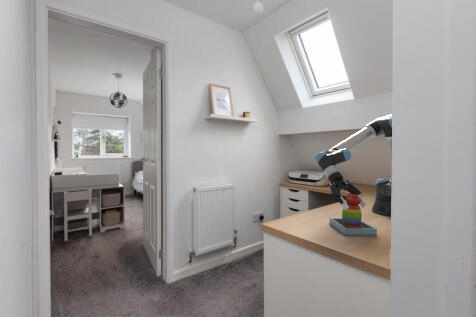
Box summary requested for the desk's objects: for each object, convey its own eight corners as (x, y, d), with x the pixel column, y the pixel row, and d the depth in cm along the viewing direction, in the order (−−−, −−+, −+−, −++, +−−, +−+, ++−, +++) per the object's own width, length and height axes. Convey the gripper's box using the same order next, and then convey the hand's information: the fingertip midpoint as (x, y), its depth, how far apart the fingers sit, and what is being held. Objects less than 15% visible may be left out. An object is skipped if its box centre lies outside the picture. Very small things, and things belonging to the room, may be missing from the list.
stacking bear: (367, 231, 116) (368, 196, 115) (346, 231, 116) (348, 196, 115) (356, 224, 126) (357, 192, 125) (337, 223, 127) (339, 191, 126)
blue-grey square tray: (357, 224, 129) (357, 218, 129) (376, 236, 112) (377, 229, 112) (329, 224, 129) (329, 218, 129) (344, 235, 112) (345, 228, 112)
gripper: (344, 178, 139) (366, 208, 126) (313, 180, 128) (334, 214, 115) (352, 170, 134) (376, 201, 121) (321, 171, 123) (344, 206, 110)
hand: (356, 207), depth 118 cm, fingers open, 13 cm apart
